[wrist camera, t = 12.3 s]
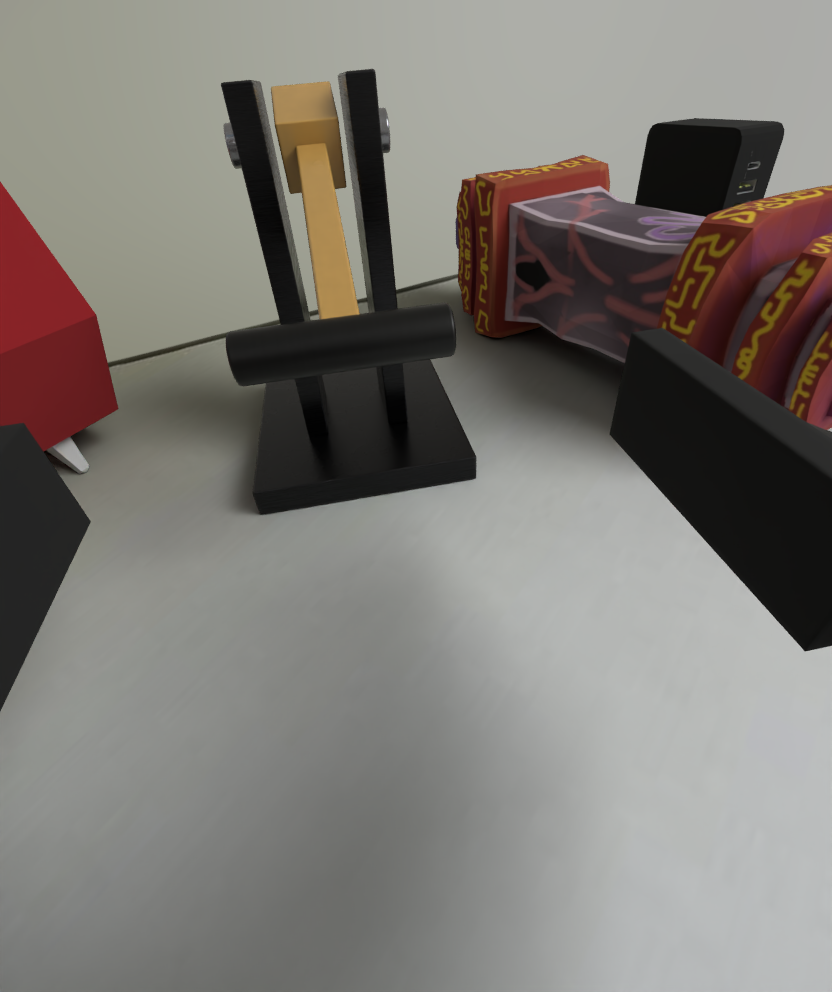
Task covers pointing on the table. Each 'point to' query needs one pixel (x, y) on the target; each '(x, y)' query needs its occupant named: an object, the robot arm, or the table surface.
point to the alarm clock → (47, 344)
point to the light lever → (329, 269)
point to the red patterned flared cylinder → (655, 274)
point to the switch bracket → (324, 398)
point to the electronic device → (707, 164)
